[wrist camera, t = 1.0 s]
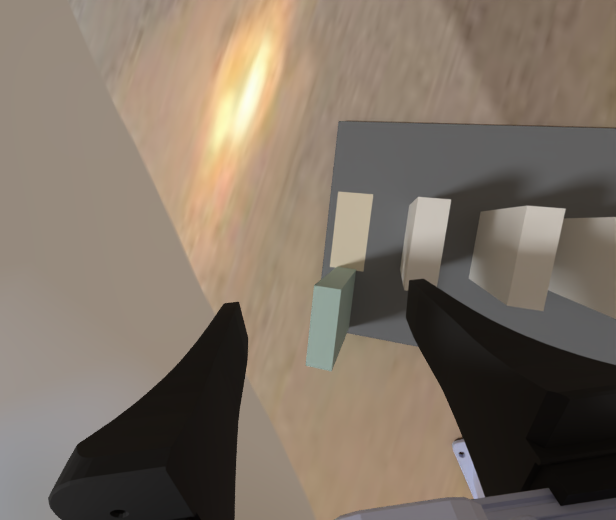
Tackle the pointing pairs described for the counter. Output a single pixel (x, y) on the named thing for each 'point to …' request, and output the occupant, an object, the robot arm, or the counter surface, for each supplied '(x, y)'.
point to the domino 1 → (330, 317)
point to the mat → (463, 216)
